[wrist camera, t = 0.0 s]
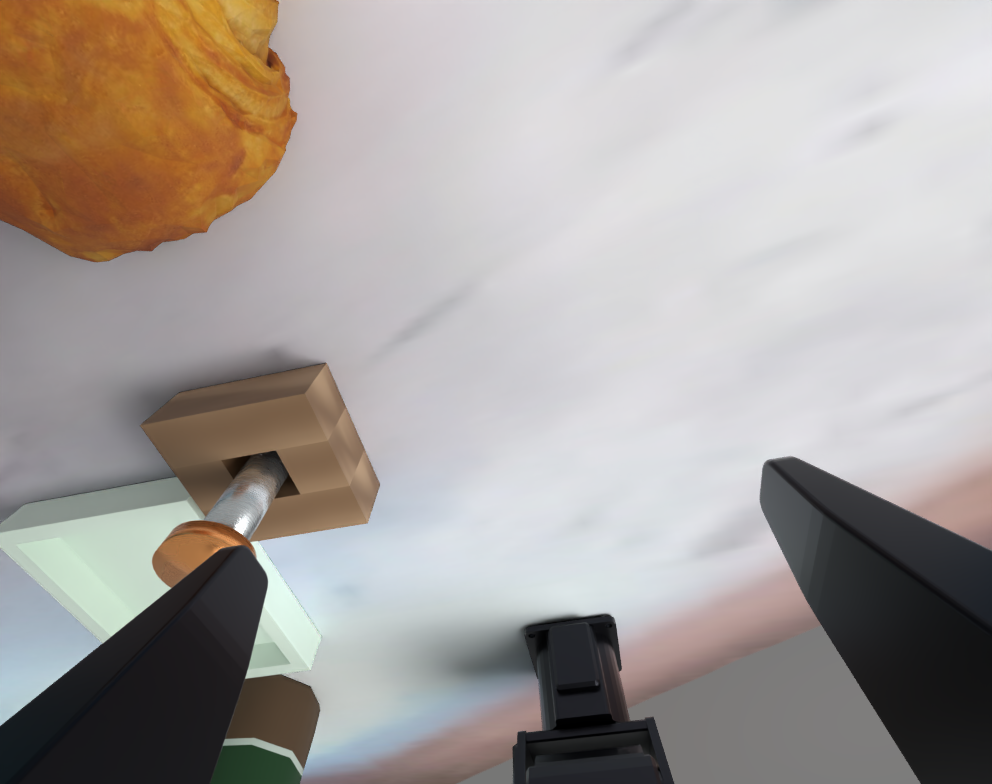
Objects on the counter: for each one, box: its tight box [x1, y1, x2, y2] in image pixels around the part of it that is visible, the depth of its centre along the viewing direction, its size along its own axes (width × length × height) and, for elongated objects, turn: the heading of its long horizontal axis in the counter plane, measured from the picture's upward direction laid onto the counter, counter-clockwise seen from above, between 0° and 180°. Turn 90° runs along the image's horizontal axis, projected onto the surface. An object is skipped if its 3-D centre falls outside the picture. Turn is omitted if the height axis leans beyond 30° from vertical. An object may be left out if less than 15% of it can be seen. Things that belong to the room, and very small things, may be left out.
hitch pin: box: [152, 450, 289, 588], centre depth 21 cm, size 3×3×8 cm
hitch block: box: [140, 363, 380, 542], centre depth 24 cm, size 8×8×3 cm
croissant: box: [0, 0, 297, 262], centre depth 14 cm, size 14×16×8 cm
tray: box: [0, 477, 322, 679], centre depth 29 cm, size 16×12×2 cm
